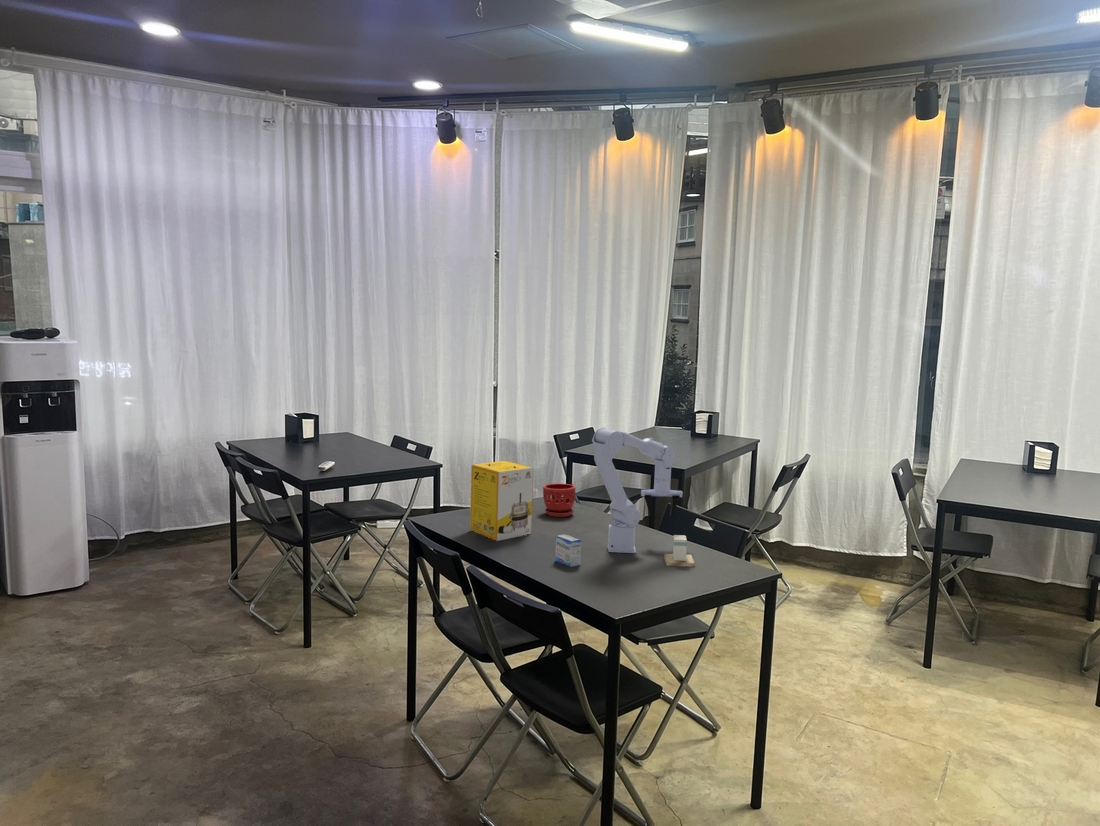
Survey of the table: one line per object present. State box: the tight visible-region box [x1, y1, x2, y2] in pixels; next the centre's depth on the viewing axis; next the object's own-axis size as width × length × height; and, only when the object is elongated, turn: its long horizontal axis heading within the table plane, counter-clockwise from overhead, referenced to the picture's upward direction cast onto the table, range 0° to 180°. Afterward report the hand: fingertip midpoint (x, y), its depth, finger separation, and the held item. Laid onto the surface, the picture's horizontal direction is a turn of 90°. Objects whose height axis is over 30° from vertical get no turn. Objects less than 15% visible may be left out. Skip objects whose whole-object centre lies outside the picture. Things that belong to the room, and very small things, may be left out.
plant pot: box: [542, 483, 576, 518], centre depth 323 cm, size 13×13×12 cm
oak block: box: [663, 553, 695, 568], centre depth 265 cm, size 9×9×2 cm
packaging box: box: [469, 460, 534, 542], centre depth 293 cm, size 16×16×25 cm
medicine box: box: [554, 533, 582, 568], centre depth 260 cm, size 8×4×9 cm, turn 40°
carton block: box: [672, 534, 688, 561], centre depth 265 cm, size 4×6×7 cm
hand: (660, 516), depth 284 cm, fingers open, 7 cm apart
